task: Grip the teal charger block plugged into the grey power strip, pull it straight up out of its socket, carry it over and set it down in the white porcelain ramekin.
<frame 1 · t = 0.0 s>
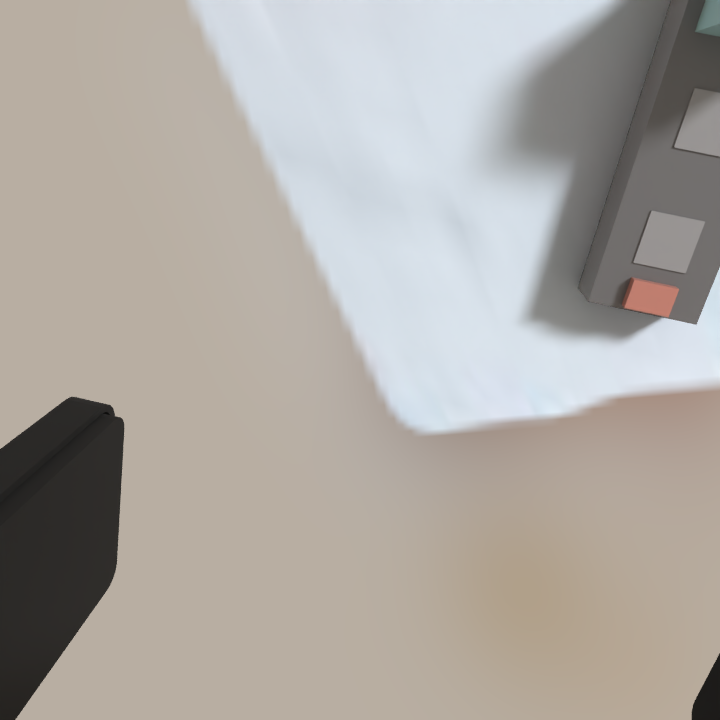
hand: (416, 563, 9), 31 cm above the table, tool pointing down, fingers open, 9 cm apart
power strip: (697, 103, 34), on the table
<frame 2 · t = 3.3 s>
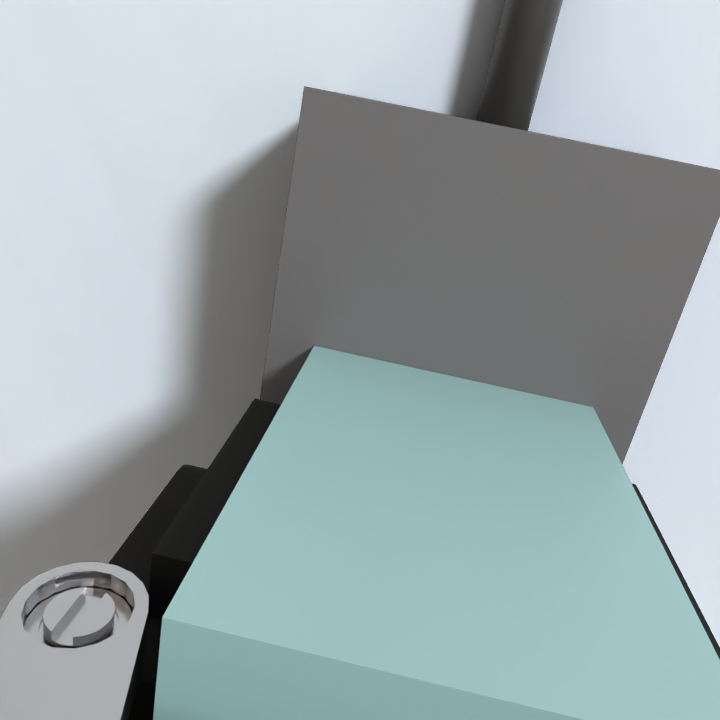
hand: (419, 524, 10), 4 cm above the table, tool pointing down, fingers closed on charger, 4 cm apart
charger: (421, 494, 11), point 3 cm above the table, touching gripper, power strip
power strip: (380, 598, 16), on the table
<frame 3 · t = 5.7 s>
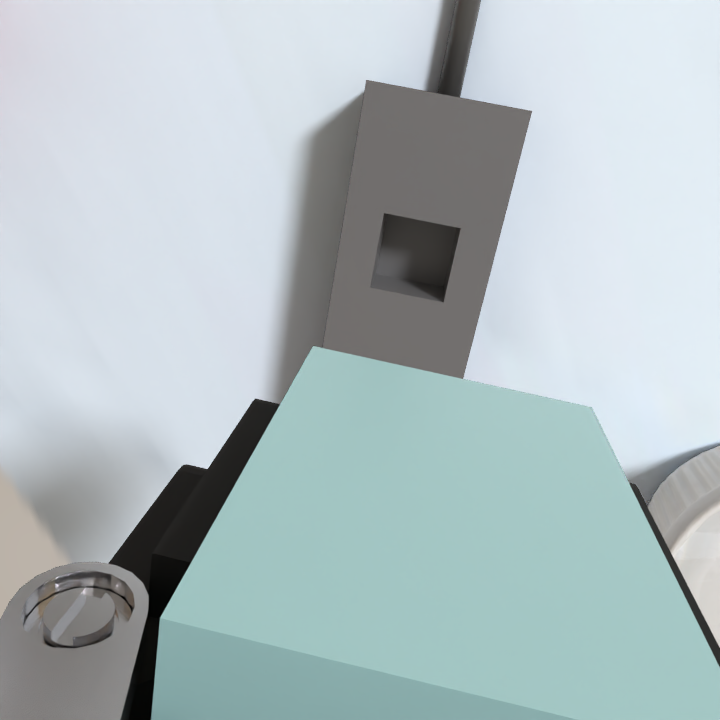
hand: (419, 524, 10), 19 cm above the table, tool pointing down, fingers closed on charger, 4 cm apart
charger: (420, 494, 11), point 19 cm above the table, touching gripper
power strip: (395, 349, 30), on the table
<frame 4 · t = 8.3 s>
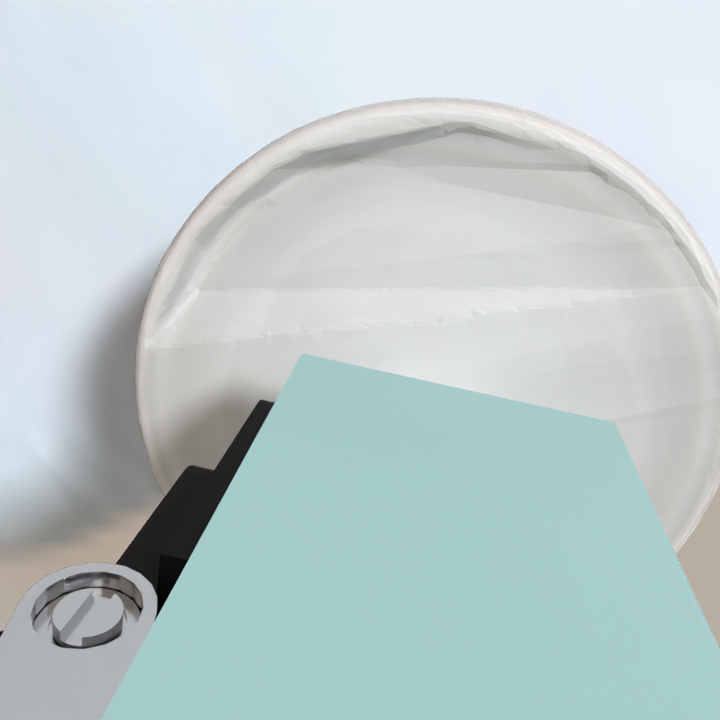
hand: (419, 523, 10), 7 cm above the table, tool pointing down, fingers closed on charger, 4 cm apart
charger: (422, 513, 10), point 7 cm above the table, touching gripper, ramekin
ramekin: (426, 331, 17), on the table, touching charger
when the fingers open (7 cm above the table, at t = 8.4 s): charger stays where it is, resting on ramekin.
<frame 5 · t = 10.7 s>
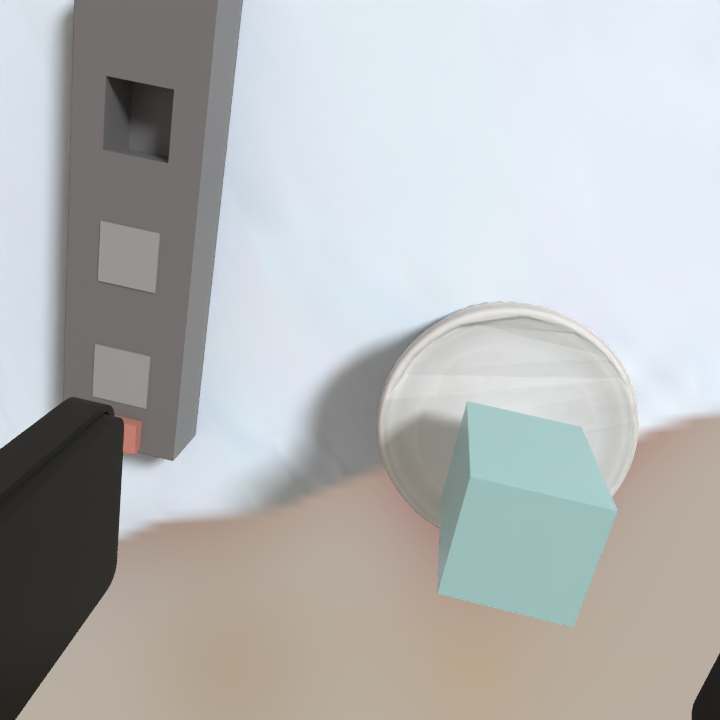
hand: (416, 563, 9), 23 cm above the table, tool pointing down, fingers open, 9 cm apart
charger: (508, 463, 26), point 7 cm above the table, touching ramekin
power strip: (158, 226, 32), on the table
ramekin: (496, 388, 33), on the table, touching charger
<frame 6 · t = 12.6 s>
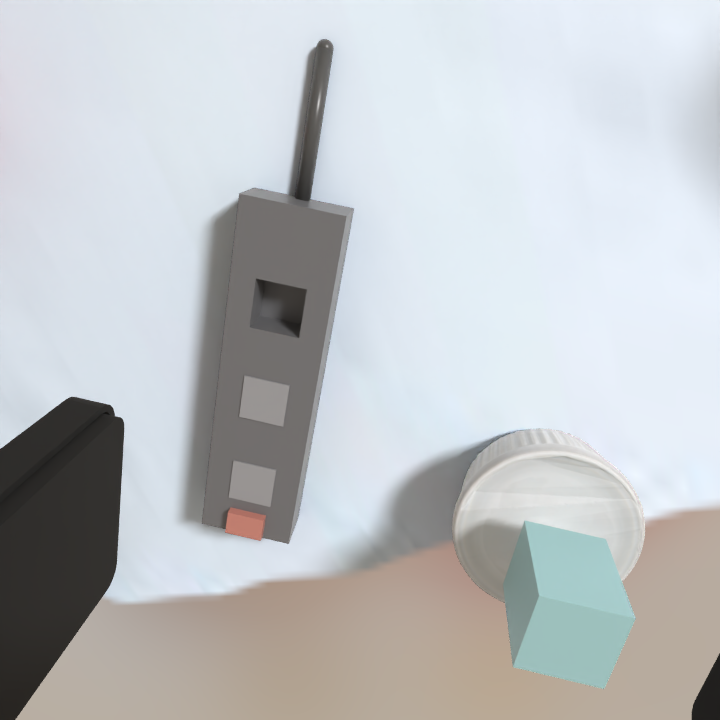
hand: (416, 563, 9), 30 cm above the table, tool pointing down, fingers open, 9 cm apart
charger: (553, 562, 36), point 7 cm above the table, touching ramekin
power strip: (278, 368, 42), on the table
ramekin: (535, 486, 43), on the table, touching charger
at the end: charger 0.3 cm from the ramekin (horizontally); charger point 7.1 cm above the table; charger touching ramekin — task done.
